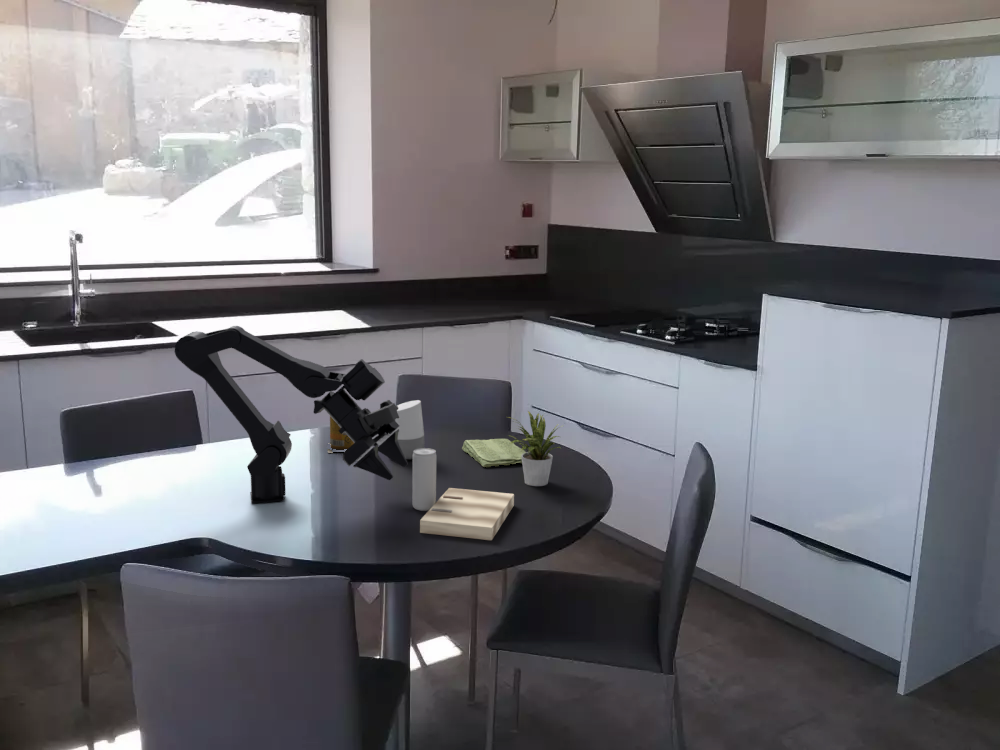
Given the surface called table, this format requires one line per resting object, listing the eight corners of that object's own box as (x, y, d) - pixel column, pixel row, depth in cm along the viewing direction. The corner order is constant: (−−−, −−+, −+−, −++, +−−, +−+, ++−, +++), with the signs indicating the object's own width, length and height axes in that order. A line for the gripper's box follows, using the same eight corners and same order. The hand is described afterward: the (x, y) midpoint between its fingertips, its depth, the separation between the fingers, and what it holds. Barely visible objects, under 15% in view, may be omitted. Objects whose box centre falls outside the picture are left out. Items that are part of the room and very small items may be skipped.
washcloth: (482, 471, 211) (482, 457, 210) (459, 450, 227) (459, 438, 226) (534, 466, 215) (534, 453, 215) (507, 446, 231) (508, 434, 231)
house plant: (492, 474, 207) (493, 405, 203) (547, 469, 211) (549, 402, 208) (514, 493, 194) (516, 420, 190) (573, 487, 198) (575, 416, 195)
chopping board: (491, 540, 167) (491, 526, 167) (420, 532, 170) (420, 519, 170) (513, 505, 186) (514, 493, 186) (449, 499, 189) (449, 486, 189)
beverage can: (423, 501, 187) (424, 446, 185) (440, 507, 184) (441, 451, 182) (407, 507, 183) (407, 451, 181) (424, 513, 181) (424, 456, 178)
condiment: (355, 443, 230) (354, 397, 227) (357, 452, 222) (357, 405, 219) (326, 444, 228) (325, 398, 226) (327, 453, 220) (327, 406, 218)
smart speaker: (389, 451, 224) (389, 396, 221) (426, 452, 223) (426, 397, 221) (383, 462, 214) (383, 405, 212) (421, 463, 214) (422, 406, 211)
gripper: (357, 400, 173) (411, 460, 173) (390, 381, 191) (439, 436, 191) (320, 436, 176) (372, 495, 176) (355, 414, 194) (403, 468, 194)
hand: (399, 472), depth 184 cm, fingers open, 9 cm apart
